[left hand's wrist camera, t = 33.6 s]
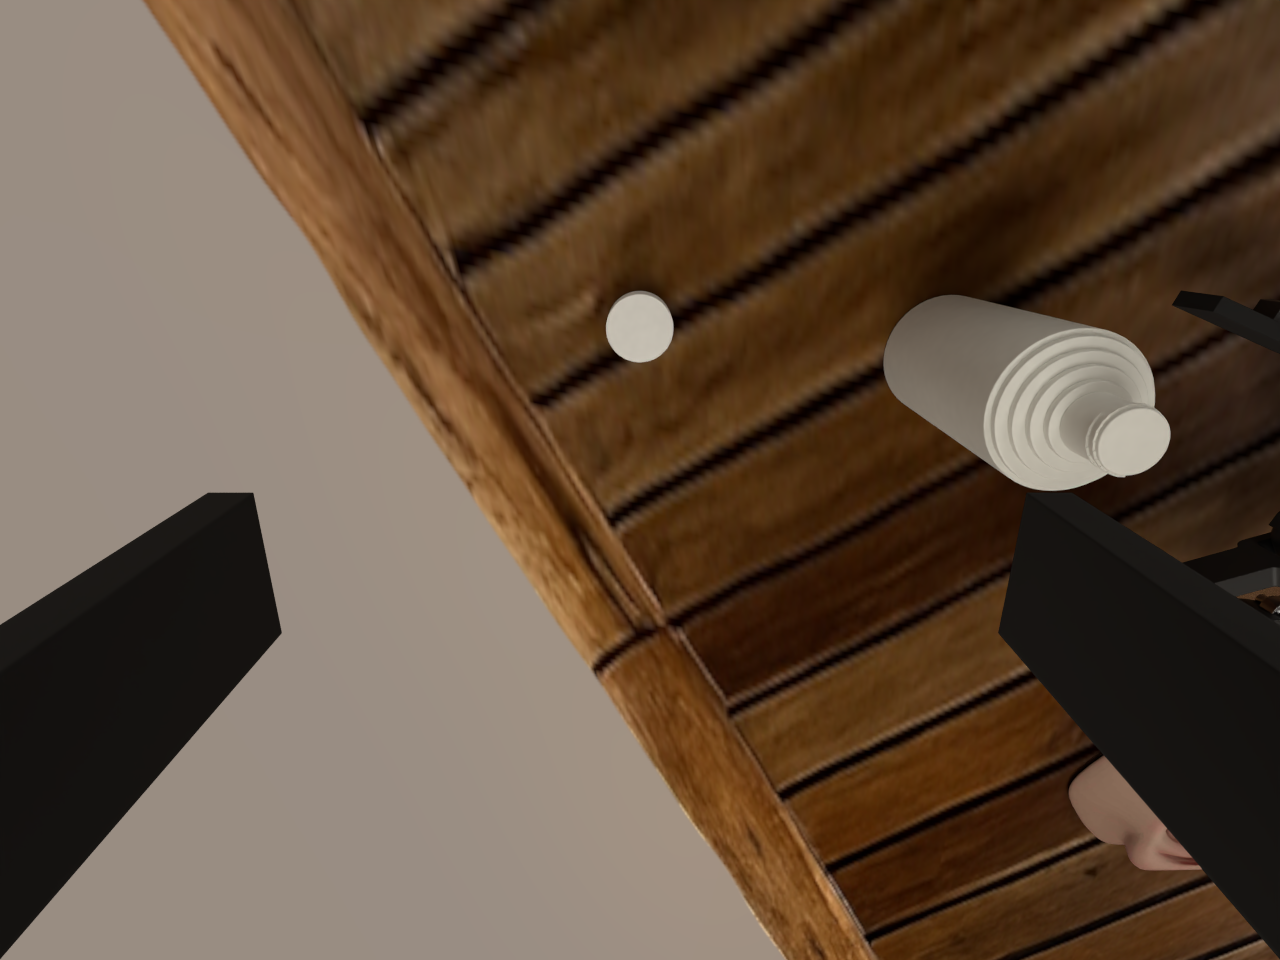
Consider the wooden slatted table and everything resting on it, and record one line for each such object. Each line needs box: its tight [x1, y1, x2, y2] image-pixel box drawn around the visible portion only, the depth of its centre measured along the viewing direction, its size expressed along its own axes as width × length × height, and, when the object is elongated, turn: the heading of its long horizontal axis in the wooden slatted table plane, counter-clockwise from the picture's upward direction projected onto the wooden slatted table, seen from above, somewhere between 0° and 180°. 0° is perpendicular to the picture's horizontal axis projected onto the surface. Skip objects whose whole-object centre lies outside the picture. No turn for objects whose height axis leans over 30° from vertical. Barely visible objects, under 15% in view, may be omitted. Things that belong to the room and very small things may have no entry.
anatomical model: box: [1069, 756, 1202, 870], centre depth 50 cm, size 13×4×12 cm
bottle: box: [884, 295, 1170, 491], centre depth 33 cm, size 7×7×17 cm
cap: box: [606, 291, 674, 362], centre depth 40 cm, size 4×4×2 cm
